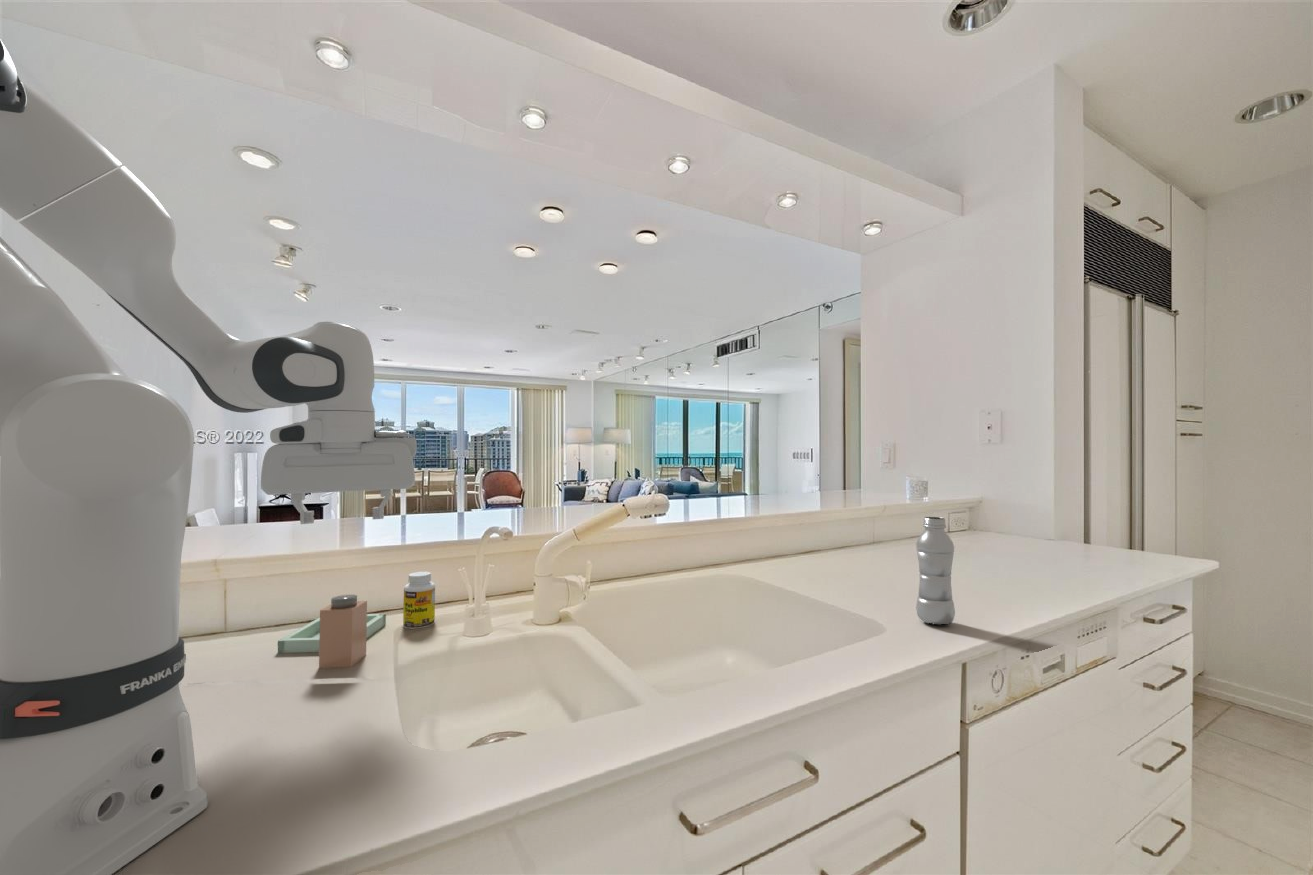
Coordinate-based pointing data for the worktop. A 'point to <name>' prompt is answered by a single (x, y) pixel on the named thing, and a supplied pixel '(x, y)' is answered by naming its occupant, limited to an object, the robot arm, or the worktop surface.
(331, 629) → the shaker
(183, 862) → the worktop surface
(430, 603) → the supplement bottle
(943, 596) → the plastic bottle
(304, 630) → the tray
